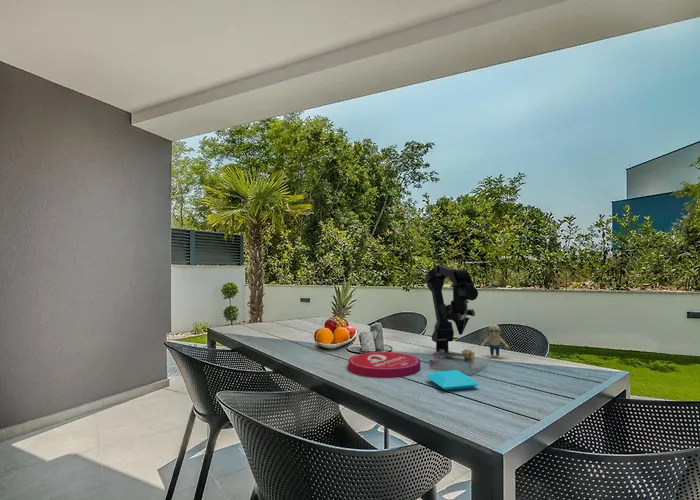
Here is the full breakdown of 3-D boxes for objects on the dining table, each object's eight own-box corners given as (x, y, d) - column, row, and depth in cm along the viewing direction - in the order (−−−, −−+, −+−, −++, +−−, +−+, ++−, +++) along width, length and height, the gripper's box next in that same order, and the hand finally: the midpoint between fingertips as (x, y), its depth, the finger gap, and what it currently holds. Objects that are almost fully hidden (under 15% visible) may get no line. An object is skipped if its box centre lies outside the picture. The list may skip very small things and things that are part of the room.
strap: (440, 354, 172) (439, 351, 173) (469, 355, 164) (469, 352, 164) (436, 355, 170) (436, 352, 170) (466, 357, 162) (466, 354, 162)
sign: (434, 367, 171) (379, 356, 192) (434, 358, 171) (378, 349, 192) (390, 383, 149) (333, 369, 170) (390, 373, 149) (333, 360, 170)
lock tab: (466, 358, 169) (466, 348, 169) (474, 359, 167) (474, 349, 167) (460, 361, 164) (460, 351, 164) (468, 362, 162) (468, 352, 162)
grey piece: (446, 360, 181) (446, 345, 181) (487, 366, 169) (486, 350, 170) (429, 368, 168) (429, 352, 168) (471, 375, 157) (471, 358, 157)
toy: (479, 357, 185) (479, 324, 185) (480, 355, 190) (480, 323, 191) (509, 360, 180) (508, 326, 181) (509, 357, 186) (509, 324, 186)
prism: (442, 395, 137) (442, 381, 137) (425, 382, 151) (425, 370, 151) (480, 390, 140) (479, 376, 140) (460, 378, 154) (459, 366, 154)
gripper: (451, 295, 189) (452, 329, 188) (432, 299, 174) (433, 335, 174) (475, 296, 182) (475, 332, 181) (457, 300, 167) (458, 338, 167)
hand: (460, 334), depth 176 cm, fingers closed
